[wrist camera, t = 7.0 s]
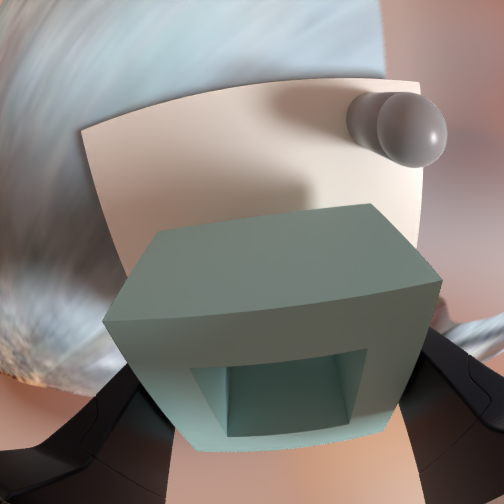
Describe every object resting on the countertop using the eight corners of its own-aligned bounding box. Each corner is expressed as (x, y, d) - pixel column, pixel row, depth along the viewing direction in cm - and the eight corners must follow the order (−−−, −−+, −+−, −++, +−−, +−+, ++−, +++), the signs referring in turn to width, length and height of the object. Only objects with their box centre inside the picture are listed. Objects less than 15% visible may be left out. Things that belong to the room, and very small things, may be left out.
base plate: (186, 367, 16) (172, 438, 12) (100, 126, 9) (16, 151, 5) (382, 344, 15) (409, 412, 11) (400, 83, 8) (484, 83, 4)
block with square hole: (207, 367, 11) (196, 451, 8) (158, 231, 8) (101, 320, 5) (358, 349, 11) (383, 431, 7) (370, 203, 8) (443, 280, 4)
